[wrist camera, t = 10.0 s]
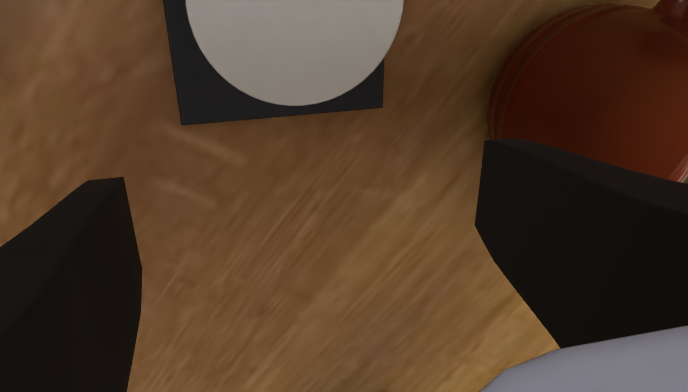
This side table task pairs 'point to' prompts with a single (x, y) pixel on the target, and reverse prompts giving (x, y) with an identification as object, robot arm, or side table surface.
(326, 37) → the saucers
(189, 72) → the mat
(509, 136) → the mug
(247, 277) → the side table surface
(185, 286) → the side table surface
